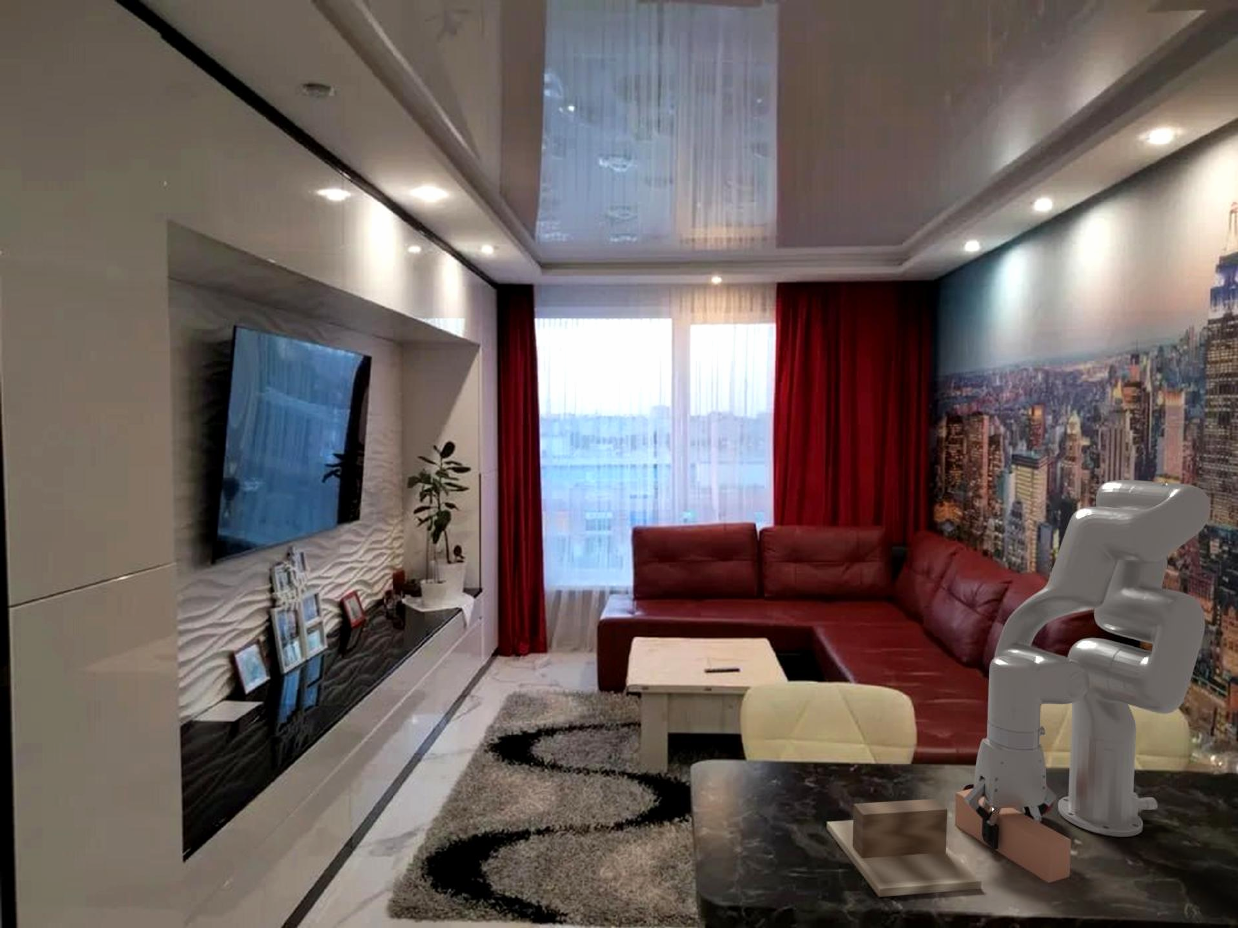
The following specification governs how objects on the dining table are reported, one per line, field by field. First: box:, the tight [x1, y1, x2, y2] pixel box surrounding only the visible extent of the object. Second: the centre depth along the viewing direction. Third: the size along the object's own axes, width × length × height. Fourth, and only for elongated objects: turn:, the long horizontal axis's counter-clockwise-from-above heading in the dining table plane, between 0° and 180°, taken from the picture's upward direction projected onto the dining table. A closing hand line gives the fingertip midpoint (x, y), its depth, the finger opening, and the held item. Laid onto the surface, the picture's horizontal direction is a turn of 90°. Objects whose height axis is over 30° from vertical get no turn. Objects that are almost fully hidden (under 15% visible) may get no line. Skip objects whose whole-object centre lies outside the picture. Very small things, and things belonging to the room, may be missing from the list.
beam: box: [954, 789, 1072, 884], centre depth 125 cm, size 4×18×6 cm, turn 23°
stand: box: [826, 798, 982, 898], centre depth 123 cm, size 16×19×8 cm
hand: (1008, 842), depth 125 cm, fingers open, 5 cm apart
